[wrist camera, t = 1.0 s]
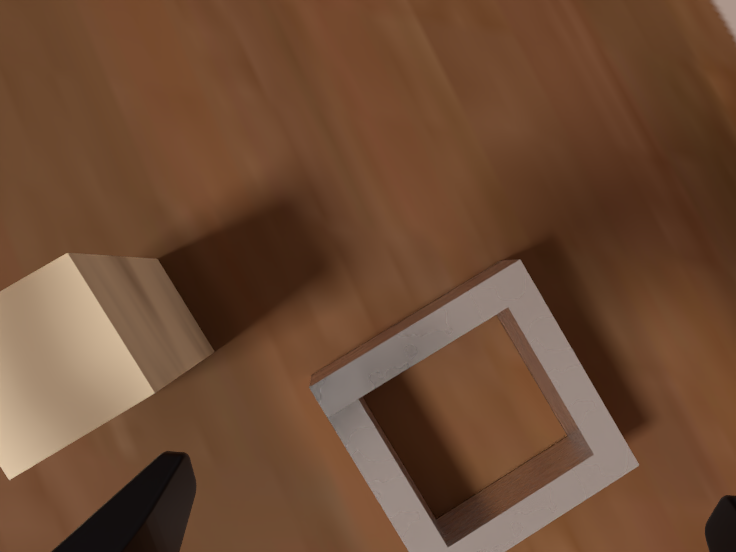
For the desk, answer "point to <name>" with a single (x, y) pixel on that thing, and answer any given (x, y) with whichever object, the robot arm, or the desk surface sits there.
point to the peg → (86, 349)
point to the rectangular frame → (518, 488)
